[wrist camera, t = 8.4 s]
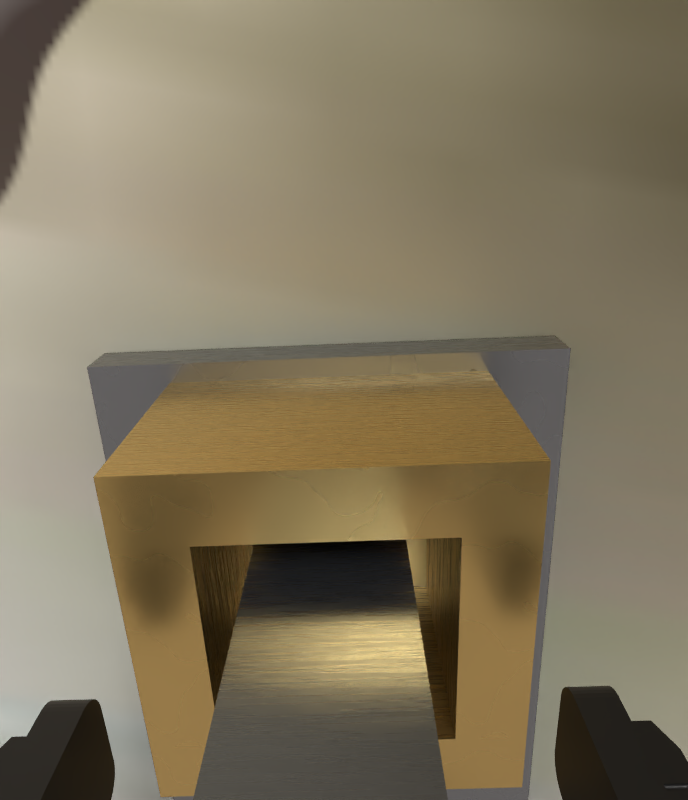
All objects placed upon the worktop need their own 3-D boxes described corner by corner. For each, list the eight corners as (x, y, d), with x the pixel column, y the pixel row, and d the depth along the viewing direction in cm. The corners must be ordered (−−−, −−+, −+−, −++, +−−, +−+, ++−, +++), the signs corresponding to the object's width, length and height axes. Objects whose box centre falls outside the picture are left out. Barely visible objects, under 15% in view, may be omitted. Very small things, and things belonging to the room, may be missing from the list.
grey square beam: (272, 464, 16) (112, 1137, 5) (393, 460, 16) (500, 1130, 5) (282, 565, 17) (167, 1291, 6) (394, 562, 17) (484, 1289, 6)
